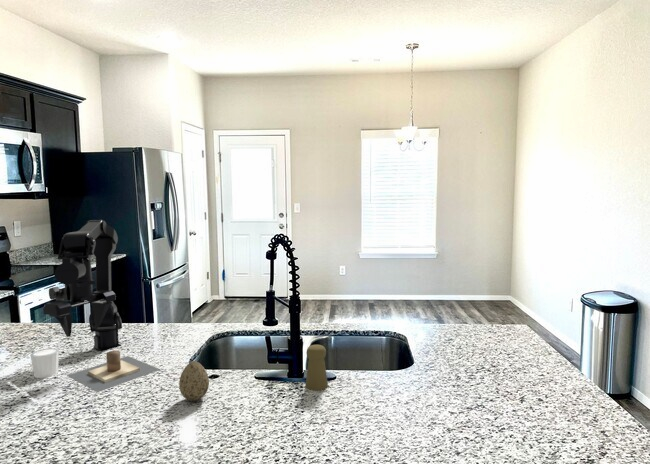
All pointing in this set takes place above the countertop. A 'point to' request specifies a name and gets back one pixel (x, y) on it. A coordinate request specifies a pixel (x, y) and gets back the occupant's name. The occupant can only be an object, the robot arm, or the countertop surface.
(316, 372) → the cork
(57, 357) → the white round cup
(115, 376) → the lid
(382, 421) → the countertop surface
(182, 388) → the decorative egg
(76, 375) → the mat
